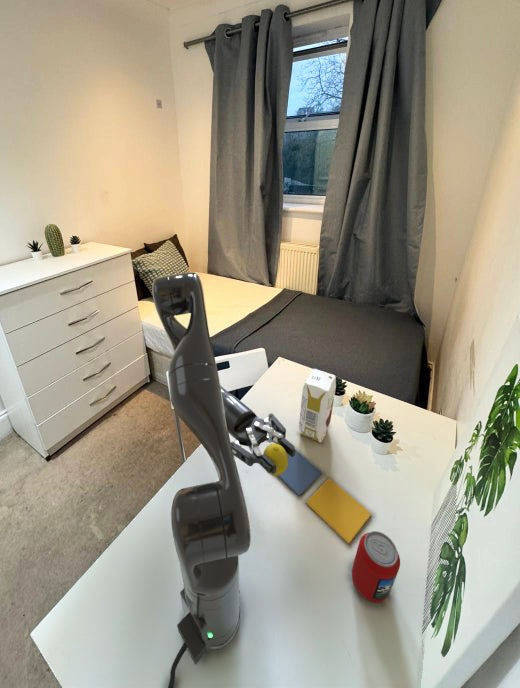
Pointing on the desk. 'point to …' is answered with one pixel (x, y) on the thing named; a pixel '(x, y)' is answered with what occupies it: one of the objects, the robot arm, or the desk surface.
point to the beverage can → (375, 566)
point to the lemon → (277, 458)
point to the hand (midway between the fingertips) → (284, 461)
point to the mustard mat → (339, 510)
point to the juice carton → (317, 404)
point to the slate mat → (299, 473)
